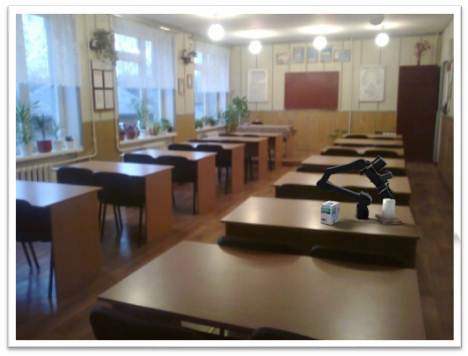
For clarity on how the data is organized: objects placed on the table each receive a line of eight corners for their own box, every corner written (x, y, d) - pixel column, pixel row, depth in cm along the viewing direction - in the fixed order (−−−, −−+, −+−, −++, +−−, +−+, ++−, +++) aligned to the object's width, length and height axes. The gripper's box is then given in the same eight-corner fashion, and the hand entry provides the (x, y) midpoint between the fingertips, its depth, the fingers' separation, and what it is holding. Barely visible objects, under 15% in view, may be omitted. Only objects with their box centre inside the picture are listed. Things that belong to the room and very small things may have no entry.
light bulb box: (331, 225, 236) (332, 206, 234) (319, 223, 240) (320, 204, 238) (339, 220, 244) (340, 202, 242) (328, 218, 248) (329, 200, 246)
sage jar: (379, 217, 244) (380, 199, 242) (385, 215, 248) (386, 198, 246) (390, 219, 239) (391, 201, 237) (396, 217, 243) (397, 200, 242)
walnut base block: (383, 224, 237) (383, 220, 237) (374, 217, 251) (375, 213, 251) (401, 224, 237) (401, 220, 237) (392, 217, 251) (392, 213, 251)
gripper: (383, 169, 232) (404, 191, 230) (385, 164, 249) (404, 184, 247) (367, 182, 236) (387, 204, 234) (370, 176, 253) (389, 197, 251)
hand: (392, 197), depth 241 cm, fingers open, 9 cm apart
